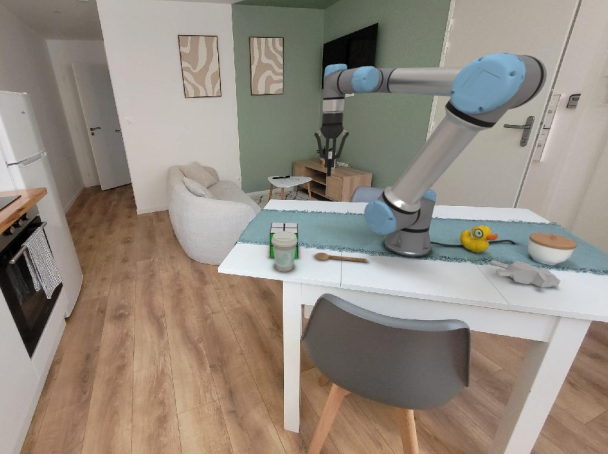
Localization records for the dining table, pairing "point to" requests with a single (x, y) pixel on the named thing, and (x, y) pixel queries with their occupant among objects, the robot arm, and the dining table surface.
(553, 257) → the trinket box
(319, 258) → the wooden spoon
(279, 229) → the puzzle cube
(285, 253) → the coffee cup
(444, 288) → the dining table surface
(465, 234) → the duckling
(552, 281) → the bunny figurine
